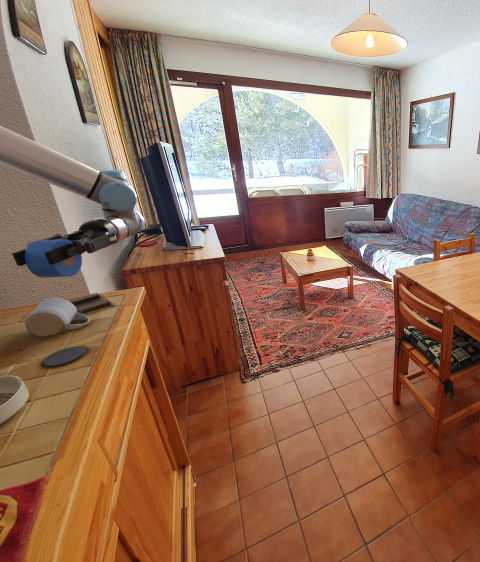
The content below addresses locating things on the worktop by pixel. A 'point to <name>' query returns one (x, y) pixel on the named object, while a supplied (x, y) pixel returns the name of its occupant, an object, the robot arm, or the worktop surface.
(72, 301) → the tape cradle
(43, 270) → the tape roll
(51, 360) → the coaster
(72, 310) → the ceramic mug
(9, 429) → the worktop surface
